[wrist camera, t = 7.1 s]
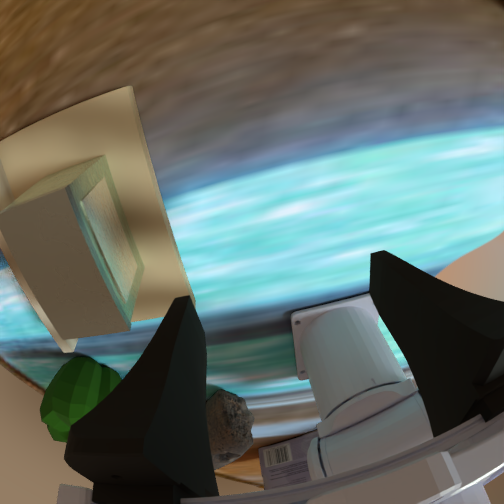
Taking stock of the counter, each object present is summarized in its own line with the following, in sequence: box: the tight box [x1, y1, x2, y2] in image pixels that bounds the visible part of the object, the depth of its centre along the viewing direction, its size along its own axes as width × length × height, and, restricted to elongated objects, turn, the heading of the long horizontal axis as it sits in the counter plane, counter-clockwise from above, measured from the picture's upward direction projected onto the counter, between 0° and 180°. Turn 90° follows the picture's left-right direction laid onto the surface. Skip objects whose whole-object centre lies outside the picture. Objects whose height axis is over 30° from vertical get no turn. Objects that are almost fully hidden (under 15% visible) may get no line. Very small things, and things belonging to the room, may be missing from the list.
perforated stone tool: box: [206, 390, 254, 470], centre depth 30 cm, size 15×5×7 cm, turn 154°
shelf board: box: [0, 86, 195, 353], centre depth 18 cm, size 16×11×4 cm
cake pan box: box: [258, 430, 319, 490], centre depth 32 cm, size 19×5×18 cm, turn 113°
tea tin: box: [0, 155, 145, 340], centre depth 16 cm, size 8×5×6 cm, turn 10°
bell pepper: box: [40, 357, 122, 443], centre depth 23 cm, size 8×8×10 cm
